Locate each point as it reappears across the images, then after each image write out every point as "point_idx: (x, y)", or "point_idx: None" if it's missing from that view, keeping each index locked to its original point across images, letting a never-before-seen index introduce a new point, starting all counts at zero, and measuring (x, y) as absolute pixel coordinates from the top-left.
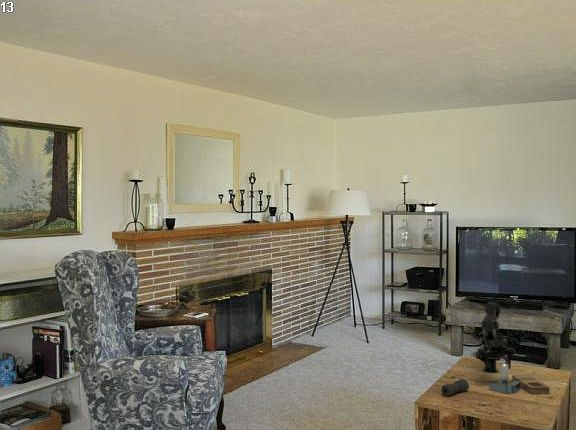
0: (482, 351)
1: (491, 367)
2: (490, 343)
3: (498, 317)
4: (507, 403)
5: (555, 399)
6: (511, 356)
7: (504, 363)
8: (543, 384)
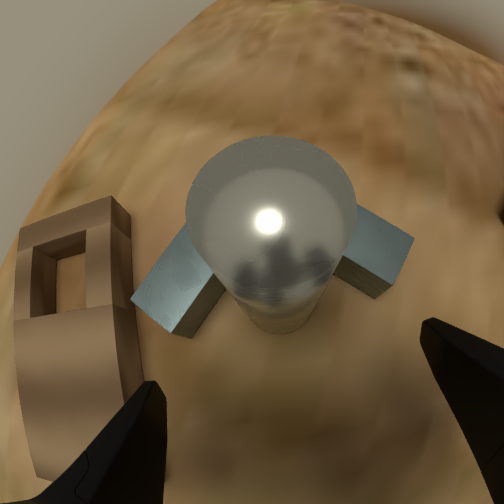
0: None
1: (440, 324)
2: None
3: None
4: (311, 74)
5: (63, 166)
6: (18, 502)
7: (252, 237)
8: (19, 277)
